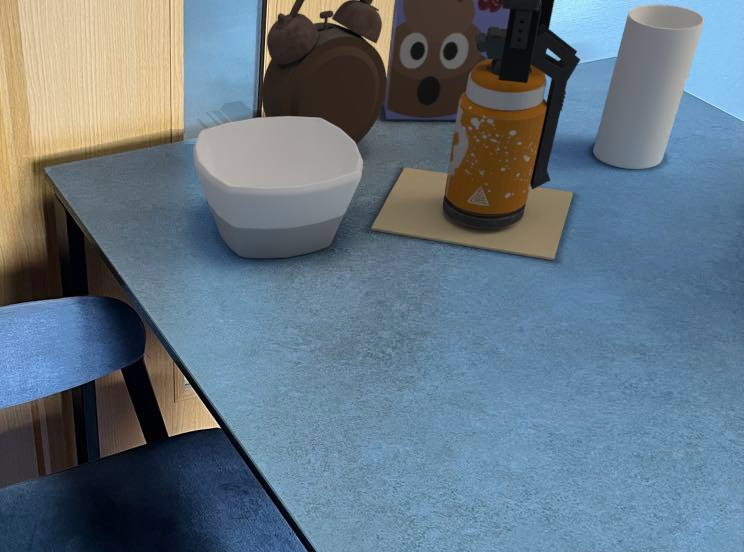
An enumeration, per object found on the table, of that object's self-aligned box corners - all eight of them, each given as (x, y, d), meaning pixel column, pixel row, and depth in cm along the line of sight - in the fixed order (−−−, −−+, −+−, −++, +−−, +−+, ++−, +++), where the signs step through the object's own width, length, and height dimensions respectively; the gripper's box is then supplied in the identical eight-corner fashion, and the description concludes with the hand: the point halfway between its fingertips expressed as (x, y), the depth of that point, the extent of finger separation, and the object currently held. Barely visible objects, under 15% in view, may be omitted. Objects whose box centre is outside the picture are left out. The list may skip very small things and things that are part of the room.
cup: (653, 174, 123) (696, 33, 112) (585, 160, 126) (620, 22, 115) (669, 148, 128) (711, 10, 117) (602, 135, 131) (637, 0, 120)
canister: (439, 195, 120) (467, 11, 106) (536, 198, 119) (578, 13, 105) (443, 232, 114) (474, 42, 100) (546, 236, 113) (592, 45, 99)
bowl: (181, 204, 120) (178, 124, 113) (327, 187, 122) (333, 108, 116) (213, 282, 108) (212, 198, 101) (375, 262, 110) (385, 178, 103)
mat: (572, 194, 120) (573, 192, 120) (553, 260, 110) (554, 258, 109) (404, 169, 126) (404, 167, 125) (370, 230, 115) (370, 227, 115)
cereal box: (385, 120, 136) (408, -87, 119) (383, 106, 139) (404, -98, 122) (519, 122, 135) (561, -87, 118) (514, 107, 138) (554, -98, 121)
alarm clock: (353, 134, 133) (367, -37, 119) (382, 156, 128) (401, -20, 114) (252, 156, 129) (255, -18, 115) (279, 180, 124) (285, 1, 110)
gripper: (546, -227, 98) (507, 11, 113) (501, -173, 82) (462, 98, 97) (629, -225, 96) (578, 18, 111) (599, -169, 80) (544, 107, 95)
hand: (524, 55), depth 104 cm, fingers open, 13 cm apart
